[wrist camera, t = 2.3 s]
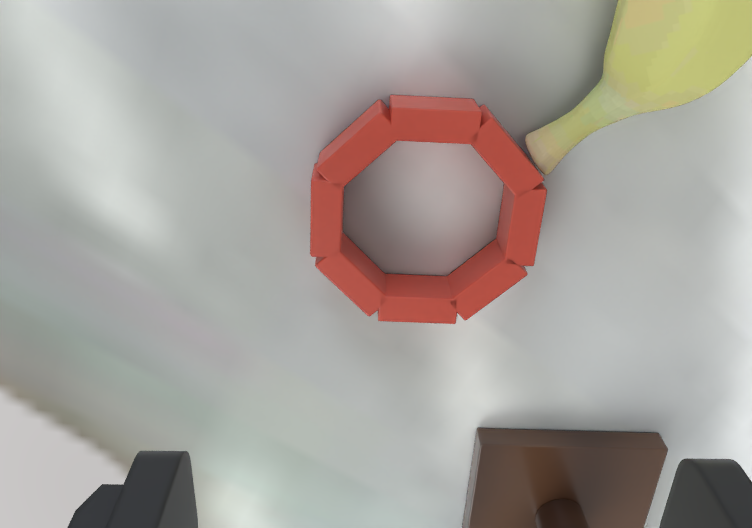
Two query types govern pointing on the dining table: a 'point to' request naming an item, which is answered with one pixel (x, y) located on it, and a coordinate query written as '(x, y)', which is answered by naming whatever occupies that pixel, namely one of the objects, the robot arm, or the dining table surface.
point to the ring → (478, 274)
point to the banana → (653, 66)
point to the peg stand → (562, 478)
